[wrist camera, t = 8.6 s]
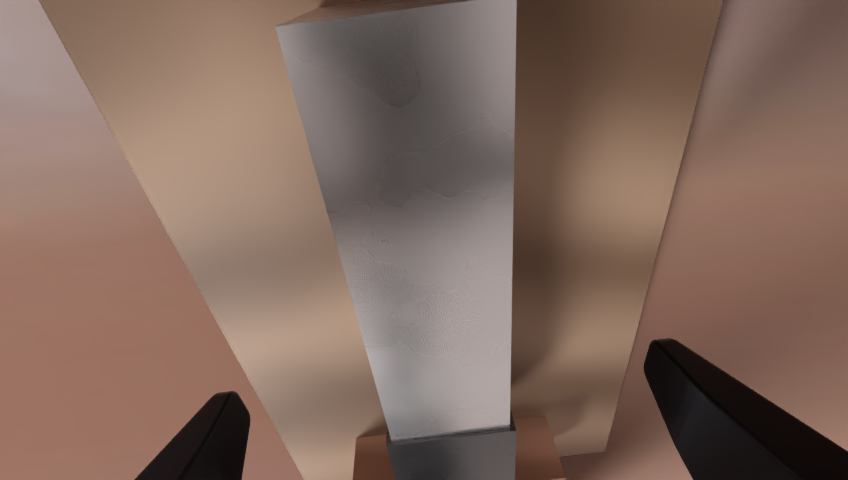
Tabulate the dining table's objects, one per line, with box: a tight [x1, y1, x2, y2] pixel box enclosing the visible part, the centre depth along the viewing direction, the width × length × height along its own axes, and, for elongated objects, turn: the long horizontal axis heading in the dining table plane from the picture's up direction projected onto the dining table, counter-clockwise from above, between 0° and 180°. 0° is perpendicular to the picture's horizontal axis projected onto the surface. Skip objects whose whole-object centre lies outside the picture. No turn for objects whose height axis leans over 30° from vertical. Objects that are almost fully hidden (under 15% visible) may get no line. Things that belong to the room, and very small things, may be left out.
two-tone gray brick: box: [275, 0, 517, 480], centre depth 11 cm, size 14×4×4 cm, turn 6°
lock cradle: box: [39, 0, 723, 480], centre depth 12 cm, size 24×14×4 cm, turn 6°
